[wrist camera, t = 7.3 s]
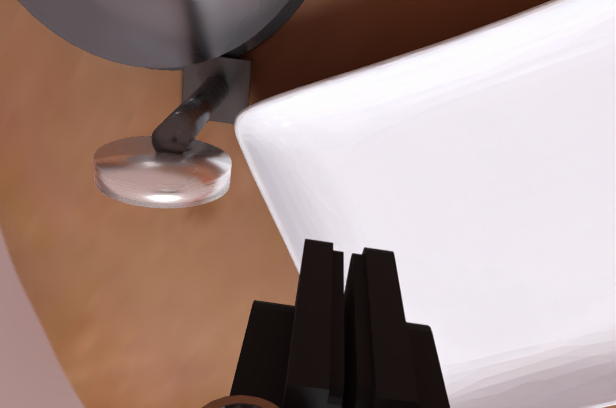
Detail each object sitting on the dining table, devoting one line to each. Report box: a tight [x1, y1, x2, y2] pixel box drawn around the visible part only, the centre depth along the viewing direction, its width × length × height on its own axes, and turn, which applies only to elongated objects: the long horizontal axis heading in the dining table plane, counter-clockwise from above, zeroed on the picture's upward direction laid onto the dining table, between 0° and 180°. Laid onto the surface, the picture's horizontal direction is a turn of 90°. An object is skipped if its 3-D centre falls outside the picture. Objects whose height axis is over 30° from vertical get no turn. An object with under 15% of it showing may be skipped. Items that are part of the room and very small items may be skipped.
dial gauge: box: [94, 56, 253, 208], centre depth 22 cm, size 3×4×11 cm
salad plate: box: [234, 0, 616, 408], centre depth 28 cm, size 21×21×3 cm
